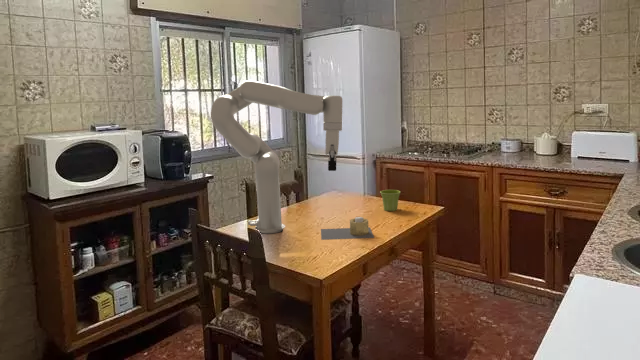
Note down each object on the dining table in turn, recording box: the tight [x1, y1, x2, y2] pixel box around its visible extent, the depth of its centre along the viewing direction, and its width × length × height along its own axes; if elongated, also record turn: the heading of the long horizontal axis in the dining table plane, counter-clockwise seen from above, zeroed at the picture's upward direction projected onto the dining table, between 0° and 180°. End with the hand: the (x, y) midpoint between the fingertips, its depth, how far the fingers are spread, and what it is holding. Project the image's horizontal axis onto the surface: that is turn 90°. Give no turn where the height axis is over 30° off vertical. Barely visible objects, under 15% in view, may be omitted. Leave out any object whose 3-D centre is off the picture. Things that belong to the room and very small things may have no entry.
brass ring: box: [349, 217, 369, 236], centre depth 198 cm, size 7×7×5 cm
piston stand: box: [320, 216, 375, 241], centre depth 198 cm, size 20×14×7 cm
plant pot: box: [379, 189, 401, 212], centre depth 237 cm, size 9×9×9 cm
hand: (332, 168), depth 207 cm, fingers open, 9 cm apart
